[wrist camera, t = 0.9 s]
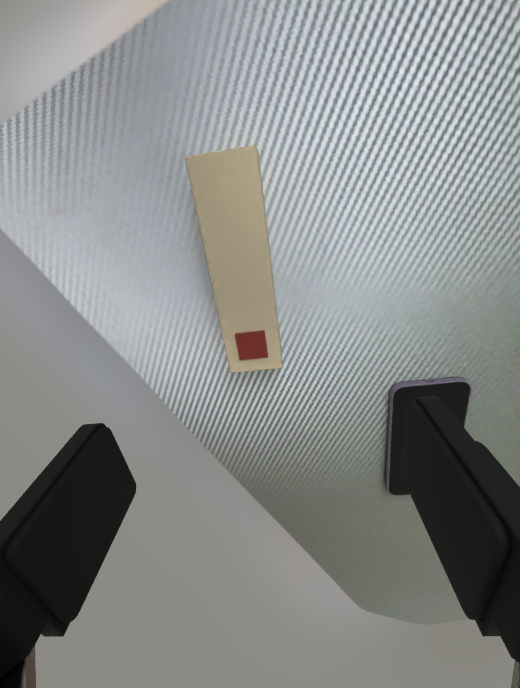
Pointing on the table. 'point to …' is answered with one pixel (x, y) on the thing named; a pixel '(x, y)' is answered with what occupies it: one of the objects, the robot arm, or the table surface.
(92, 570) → the robot arm
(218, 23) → the table surface
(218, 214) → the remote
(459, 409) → the smartphone
